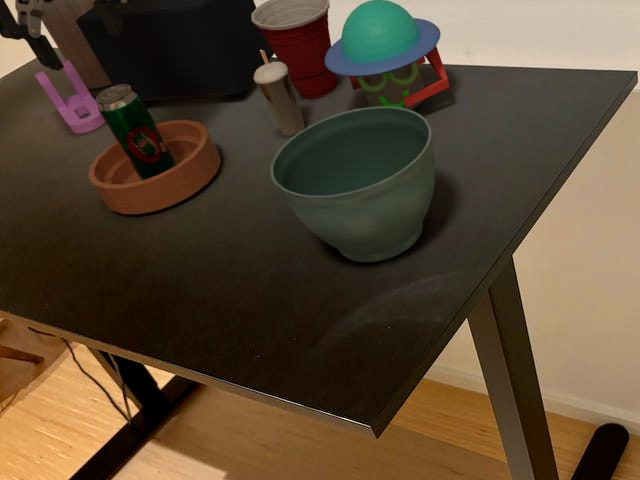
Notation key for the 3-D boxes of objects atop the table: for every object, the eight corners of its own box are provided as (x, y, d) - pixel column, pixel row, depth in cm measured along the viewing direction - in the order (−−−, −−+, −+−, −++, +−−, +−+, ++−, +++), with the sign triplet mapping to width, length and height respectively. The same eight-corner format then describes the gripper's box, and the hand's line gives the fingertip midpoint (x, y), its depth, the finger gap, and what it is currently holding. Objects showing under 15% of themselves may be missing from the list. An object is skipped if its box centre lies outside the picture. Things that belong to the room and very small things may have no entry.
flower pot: (374, 180, 86) (345, 95, 79) (483, 209, 78) (463, 117, 70) (280, 262, 79) (237, 177, 71) (390, 303, 70) (355, 212, 63)
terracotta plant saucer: (156, 228, 88) (137, 198, 85) (85, 204, 96) (64, 175, 93) (246, 159, 96) (231, 128, 93) (173, 142, 104) (157, 113, 100)
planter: (83, 96, 122) (-8, -49, 106) (81, 75, 129) (-5, -64, 112) (140, 75, 124) (60, -72, 107) (135, 56, 130) (59, -85, 114)
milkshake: (306, 114, 102) (278, 44, 94) (312, 131, 98) (283, 59, 91) (275, 125, 101) (245, 55, 94) (279, 142, 97) (249, 71, 90)
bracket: (58, 112, 119) (32, 71, 114) (90, 97, 121) (66, 57, 116) (77, 137, 111) (49, 94, 106) (111, 121, 113) (85, 78, 108)
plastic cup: (333, 108, 101) (303, 22, 93) (270, 108, 105) (235, 25, 97) (367, 70, 108) (341, -14, 99) (306, 71, 112) (276, -10, 103)
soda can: (152, 170, 98) (102, 86, 89) (186, 164, 97) (139, 79, 88) (139, 191, 94) (85, 106, 86) (174, 186, 93) (124, 99, 85)
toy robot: (346, 151, 92) (307, 43, 82) (346, 98, 103) (312, -5, 93) (461, 124, 92) (435, 11, 82) (449, 73, 102) (426, -33, 92)
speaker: (279, 62, 116) (240, -38, 105) (245, 103, 108) (198, 0, 97) (167, 72, 122) (119, -22, 111) (126, 111, 114) (70, 15, 103)
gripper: (36, -133, 77) (118, 21, 89) (-89, -84, 70) (18, 77, 81) (75, -135, 73) (155, 26, 85) (-53, -84, 66) (54, 85, 78)
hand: (88, 51), depth 83 cm, fingers open, 8 cm apart
